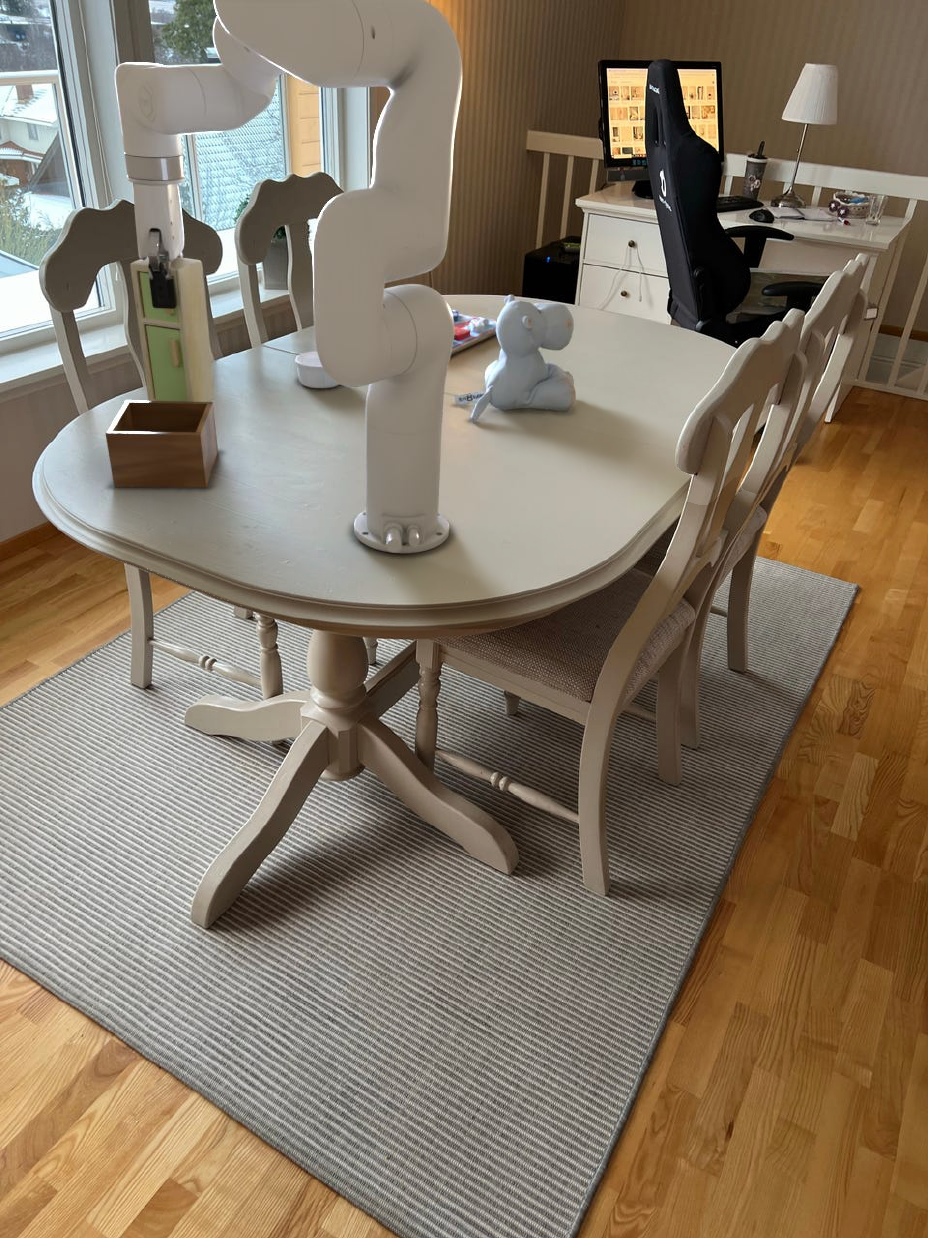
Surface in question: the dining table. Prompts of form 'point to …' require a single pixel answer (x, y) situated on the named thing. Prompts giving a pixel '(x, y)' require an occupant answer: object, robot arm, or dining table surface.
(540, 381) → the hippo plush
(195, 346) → the toy refrigerator
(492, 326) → the puzzle board
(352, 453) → the dining table surface
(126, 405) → the open wooden box
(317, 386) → the ramekin
